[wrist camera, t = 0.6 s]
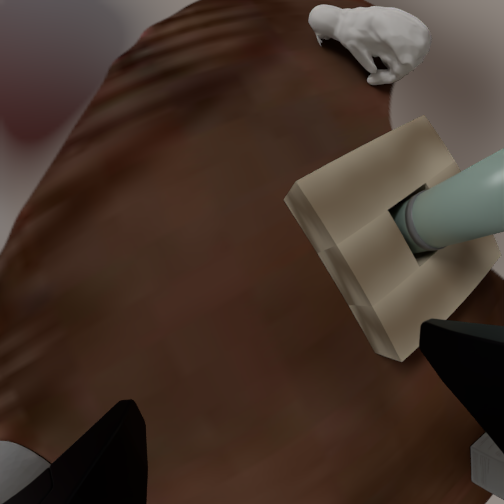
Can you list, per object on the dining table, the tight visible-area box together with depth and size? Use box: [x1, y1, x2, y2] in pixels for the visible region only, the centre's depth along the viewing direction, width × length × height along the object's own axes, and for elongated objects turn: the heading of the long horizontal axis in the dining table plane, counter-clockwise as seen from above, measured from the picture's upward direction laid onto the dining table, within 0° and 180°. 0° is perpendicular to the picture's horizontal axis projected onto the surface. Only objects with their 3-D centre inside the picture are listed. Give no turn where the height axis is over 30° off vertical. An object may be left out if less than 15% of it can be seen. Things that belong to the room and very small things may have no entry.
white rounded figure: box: [308, 5, 432, 85], centre depth 22 cm, size 6×8×12 cm
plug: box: [388, 148, 504, 254], centre depth 16 cm, size 4×4×14 cm
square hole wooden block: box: [284, 115, 501, 362], centre depth 22 cm, size 14×14×4 cm
